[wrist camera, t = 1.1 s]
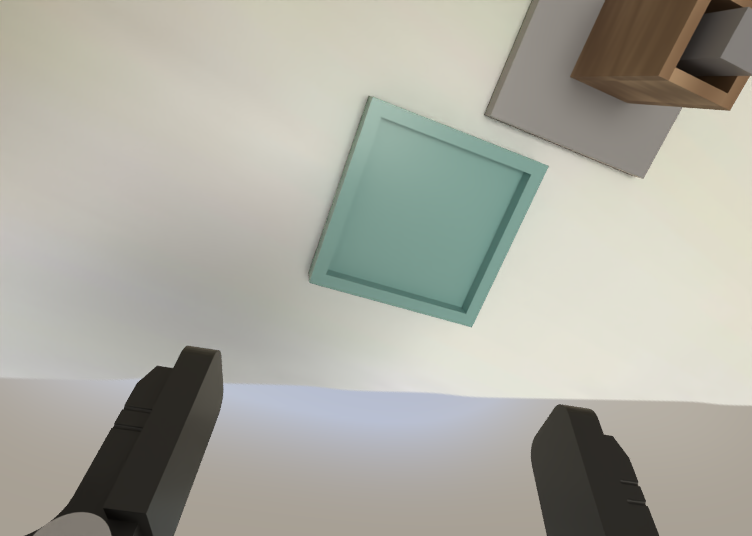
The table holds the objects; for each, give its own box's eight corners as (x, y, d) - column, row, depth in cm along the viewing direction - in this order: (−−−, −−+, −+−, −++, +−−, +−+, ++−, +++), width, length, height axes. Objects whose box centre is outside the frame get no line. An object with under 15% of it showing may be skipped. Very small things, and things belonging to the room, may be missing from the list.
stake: (484, 114, 35) (569, 131, 24) (573, -99, 30) (728, -201, 19) (633, 175, 38) (768, 214, 27) (731, -8, 34) (938, -49, 23)
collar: (569, 76, 33) (658, 75, 25) (611, -14, 32) (722, -47, 23) (627, 103, 35) (729, 110, 26) (670, 17, 33) (795, -3, 25)
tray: (308, 272, 37) (309, 282, 35) (368, 96, 33) (372, 96, 31) (464, 316, 41) (471, 327, 39) (536, 161, 37) (548, 166, 35)
